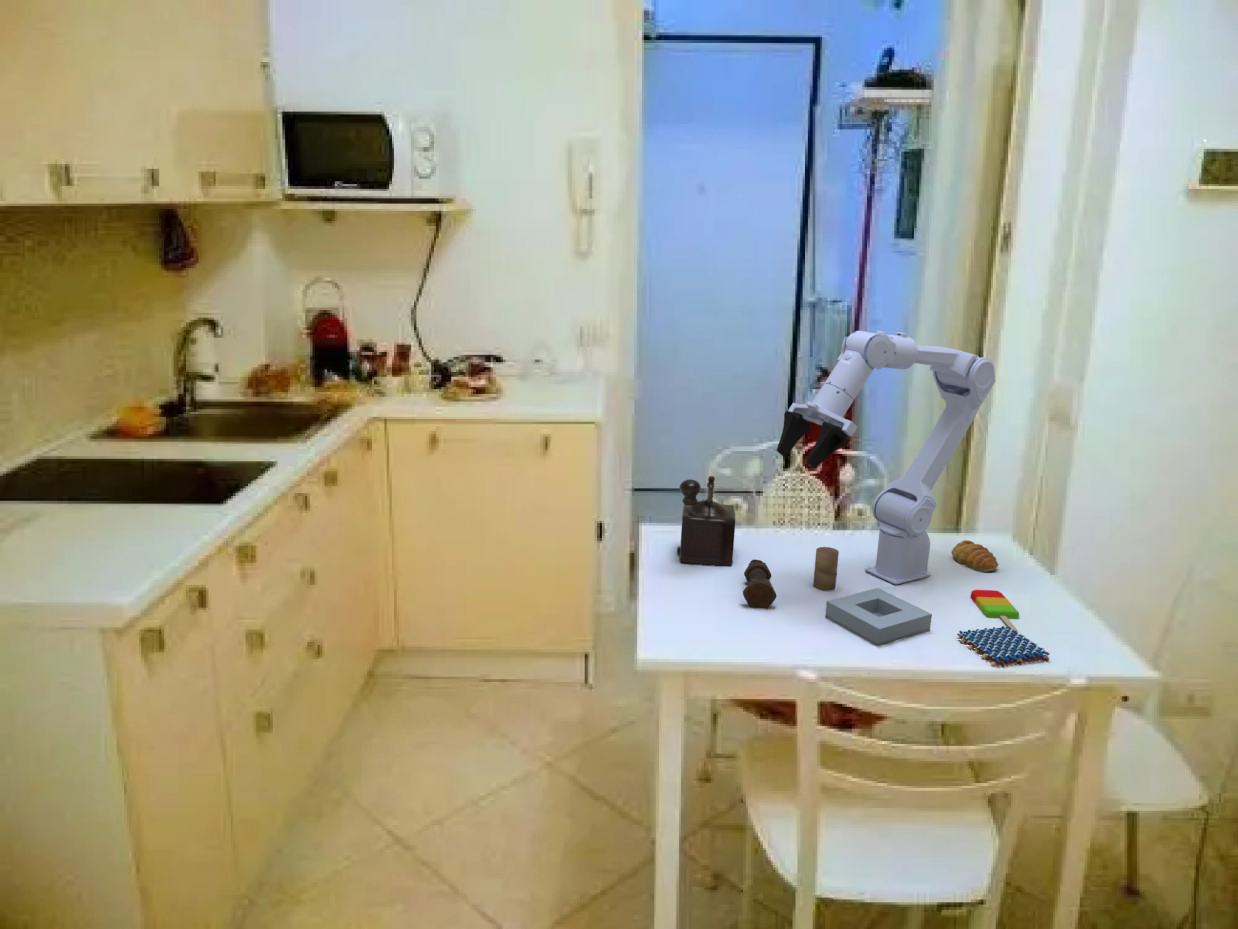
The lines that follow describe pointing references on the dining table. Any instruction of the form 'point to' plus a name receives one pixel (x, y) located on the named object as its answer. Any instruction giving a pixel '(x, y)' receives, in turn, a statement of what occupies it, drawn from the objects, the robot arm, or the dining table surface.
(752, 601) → the bolt
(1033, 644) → the woven mat
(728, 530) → the manual coffee grinder
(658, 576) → the dining table surface
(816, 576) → the peg
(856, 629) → the socket block
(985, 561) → the pastry
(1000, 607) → the popsicle
